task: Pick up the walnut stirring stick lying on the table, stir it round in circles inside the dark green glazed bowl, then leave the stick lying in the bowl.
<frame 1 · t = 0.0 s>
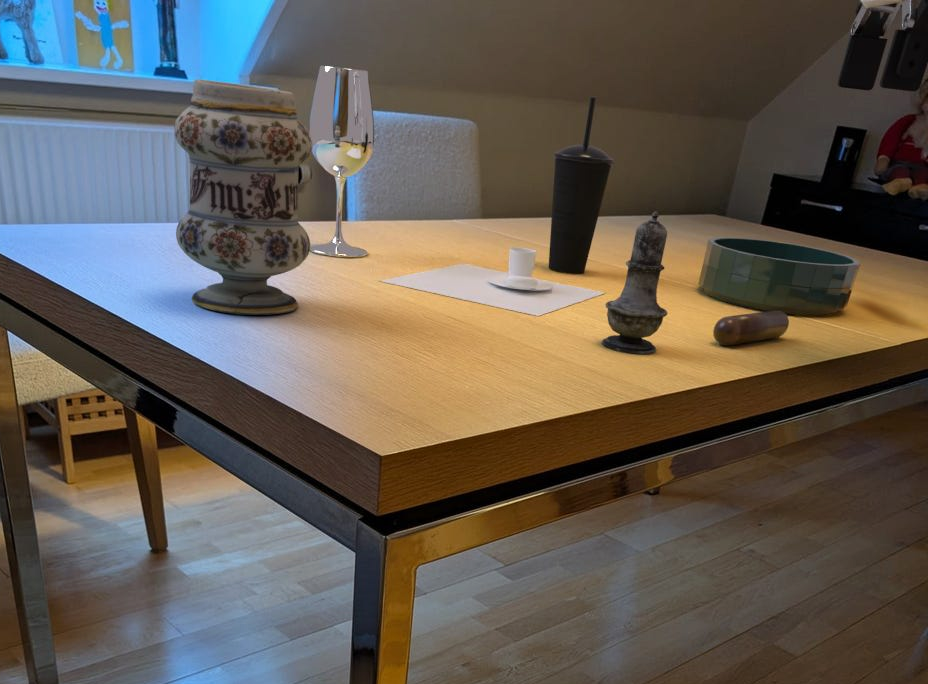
hand: (875, 89, 79), 23 cm above the table, tool pointing down, fingers open, 9 cm apart
salt shaker: (628, 348, 88), on the table
bowl: (769, 300, 118), on the table
apothecary jar: (245, 305, 87), on the table
teacup and saucer: (496, 288, 107), on the table
stick: (748, 341, 95), on the table
wineglass: (337, 253, 116), on the table
drinking cup: (565, 271, 122), on the table
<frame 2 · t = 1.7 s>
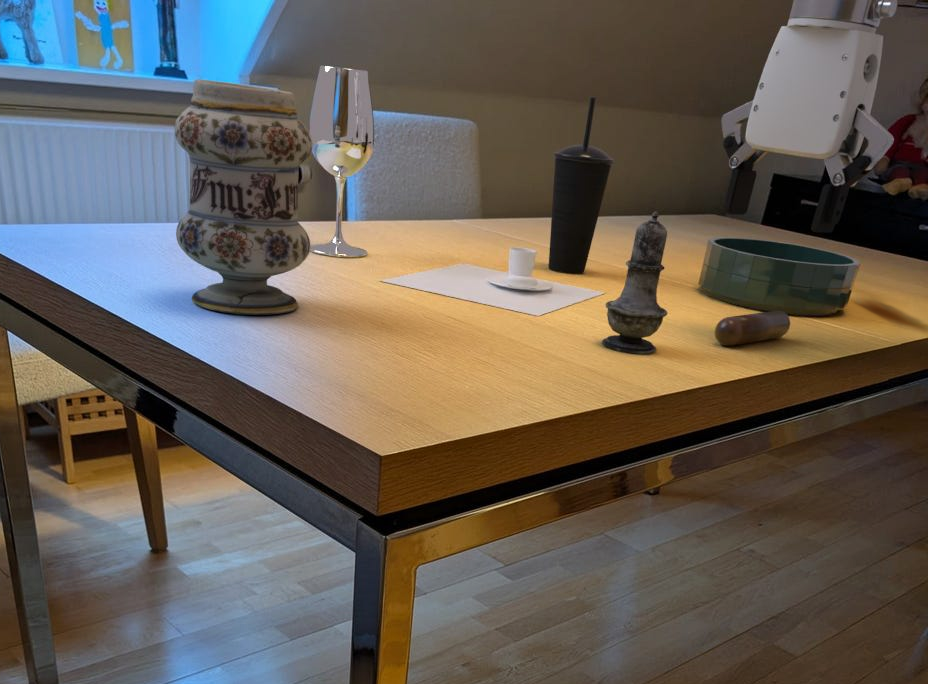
hand: (776, 222, 89), 11 cm above the table, tool pointing down, fingers open, 9 cm apart
stick: (748, 341, 95), on the table, tilted 6°
everything else where it was.
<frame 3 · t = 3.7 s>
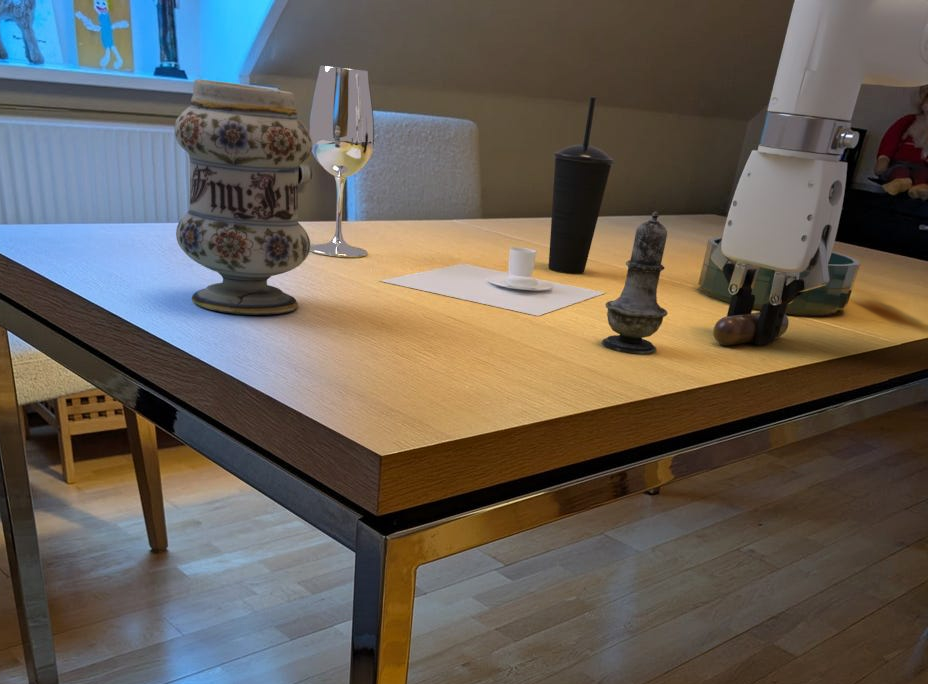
hand: (749, 337, 95), 0 cm above the table, tool pointing down, fingers closed on stick, 2 cm apart
stick: (748, 341, 95), on the table, touching gripper
everything else where it was.
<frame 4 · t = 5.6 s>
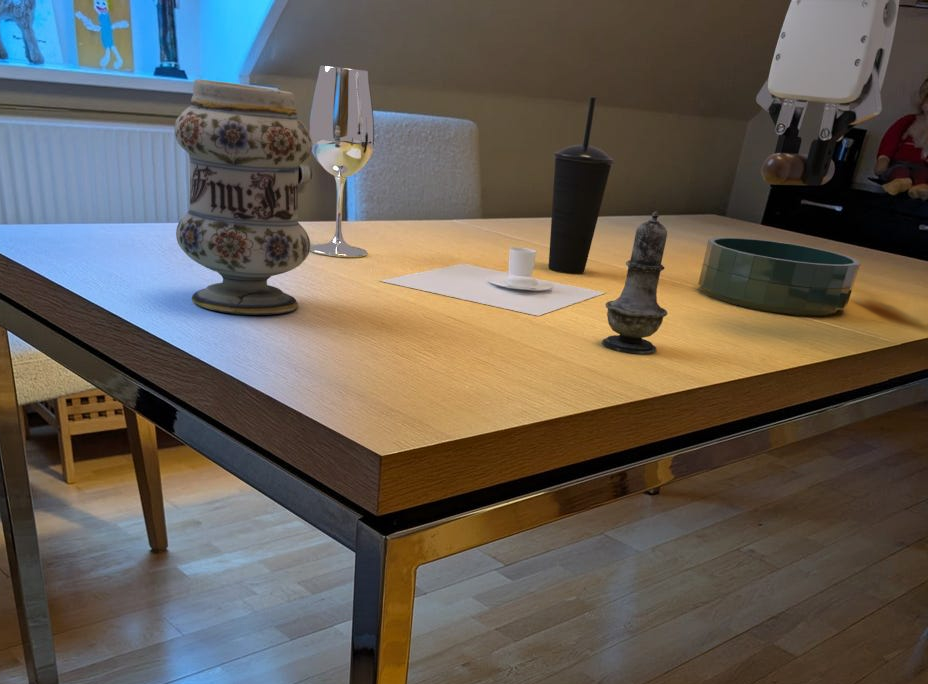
hand: (796, 180, 93), 15 cm above the table, tool pointing down, fingers closed on stick, 2 cm apart
stick: (795, 185, 93), point 14 cm above the table, touching gripper
everything else where it was.
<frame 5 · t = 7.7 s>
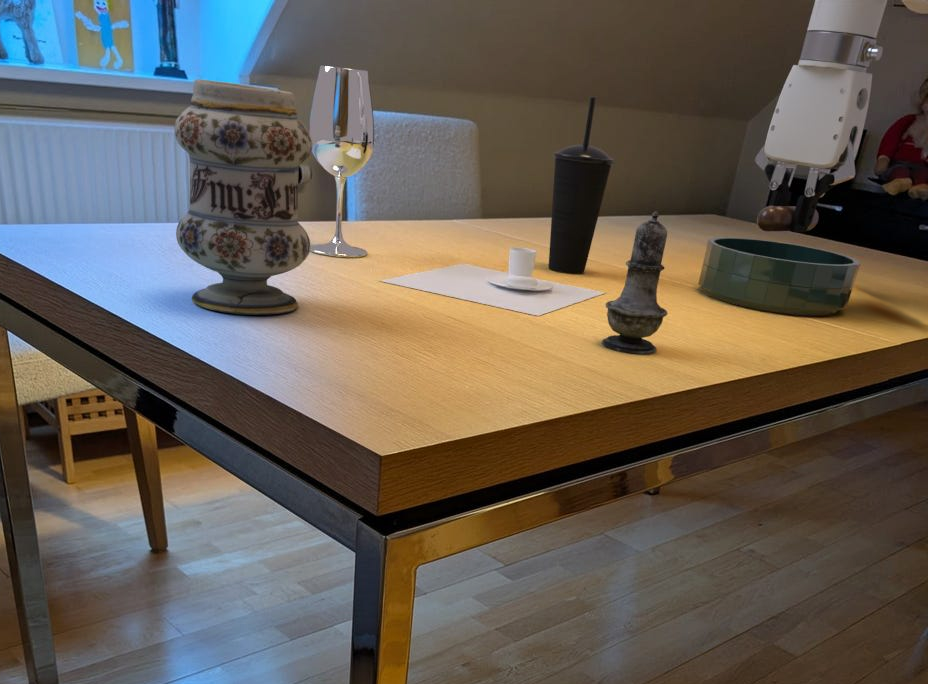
hand: (786, 227, 113), 9 cm above the table, tool pointing down, fingers closed on stick, 2 cm apart
stick: (785, 231, 113), point 8 cm above the table, touching gripper
everything else where it was.
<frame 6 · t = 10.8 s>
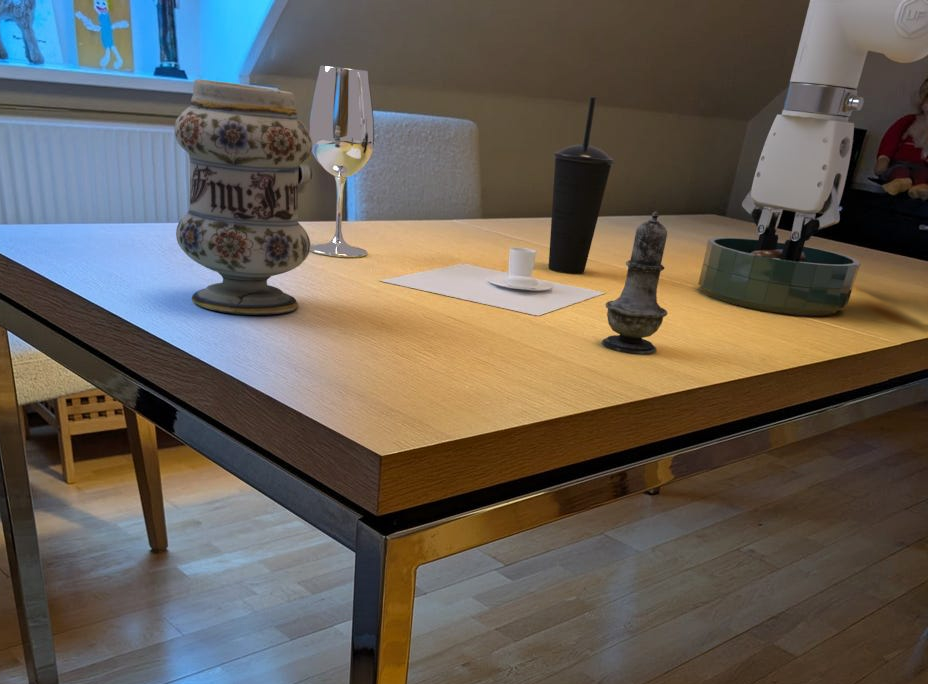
hand: (773, 269, 116), 4 cm above the table, tool pointing down, fingers closed on stick, 2 cm apart
stick: (772, 273, 116), point 3 cm above the table, touching gripper
everything else where it was.
when the fingers open (1 cm above the table, at t = 12.1 s): stick moves 3 cm and tips over, resting on bowl.
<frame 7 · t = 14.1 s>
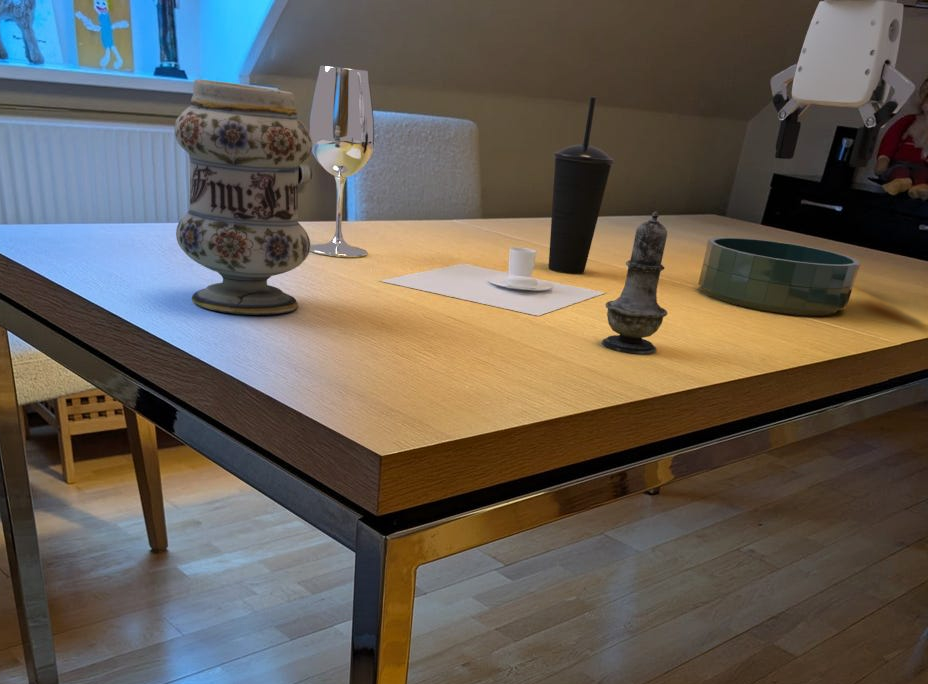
hand: (819, 162, 109), 16 cm above the table, tool pointing down, fingers open, 9 cm apart
stick: (764, 274, 117), point 3 cm above the table, tilted 116°, touching bowl
everything else where it was.
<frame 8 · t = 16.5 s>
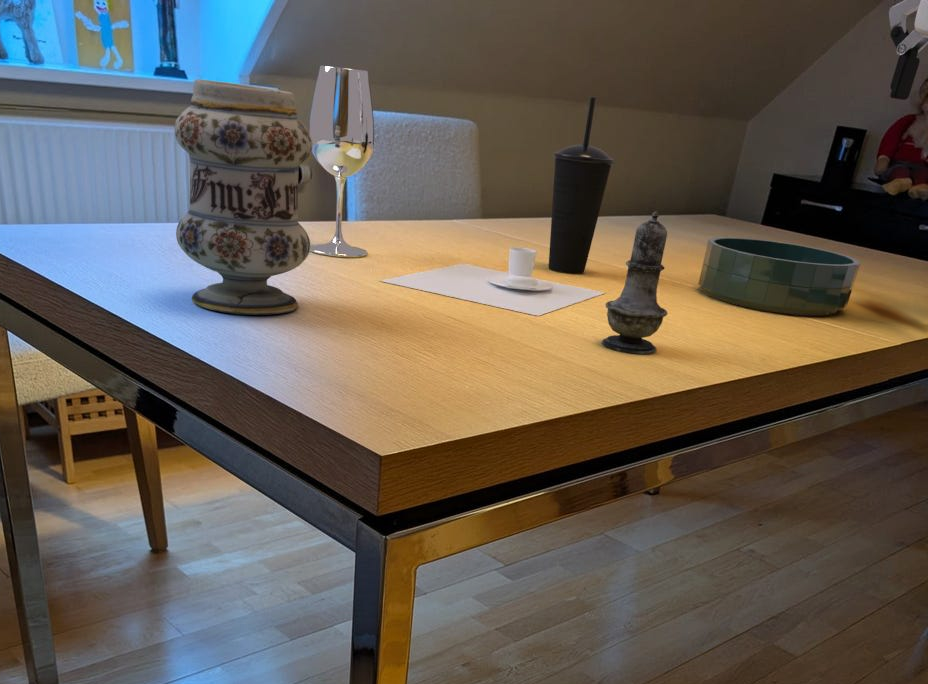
stick: (749, 264, 118), point 4 cm above the table, tilted 170°, touching bowl
everything else where it was.
at the end: stick inside the target area in the bowl (4.0 cm from its centre), point 3.6 cm above the bowl's base; the gripper is holding nothing; stick moved 30.0 cm from its start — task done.
